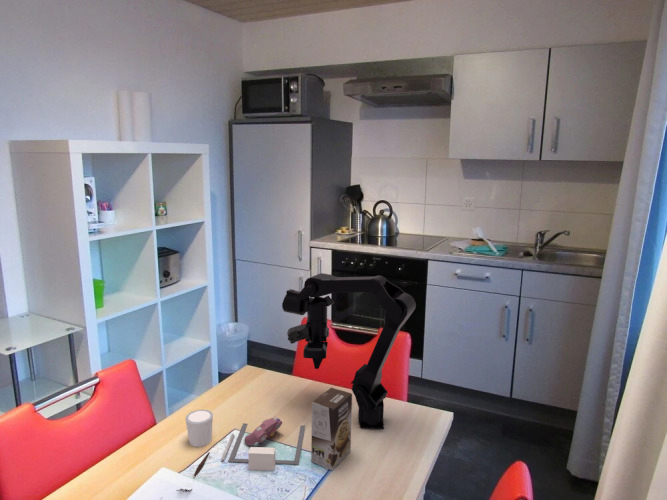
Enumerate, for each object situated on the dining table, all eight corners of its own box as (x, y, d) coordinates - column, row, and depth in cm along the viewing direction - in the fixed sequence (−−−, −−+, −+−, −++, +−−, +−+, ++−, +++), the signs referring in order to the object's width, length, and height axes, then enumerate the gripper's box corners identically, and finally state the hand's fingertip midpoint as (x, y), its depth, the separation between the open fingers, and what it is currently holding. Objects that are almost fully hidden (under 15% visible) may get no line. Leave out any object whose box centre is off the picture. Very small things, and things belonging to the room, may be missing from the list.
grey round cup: (205, 429, 129) (204, 406, 127) (219, 440, 124) (218, 416, 123) (181, 440, 124) (180, 415, 123) (195, 451, 119) (193, 426, 118)
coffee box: (332, 471, 113) (333, 409, 109) (310, 462, 116) (310, 401, 113) (351, 451, 120) (353, 393, 117) (330, 443, 124) (331, 386, 120)
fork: (214, 454, 119) (214, 447, 118) (187, 499, 103) (186, 491, 103) (204, 453, 119) (204, 446, 119) (175, 498, 104) (175, 490, 103)
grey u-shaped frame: (305, 426, 131) (305, 411, 130) (297, 471, 112) (297, 454, 112) (236, 424, 132) (236, 409, 131) (217, 468, 113) (217, 452, 112)
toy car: (253, 454, 121) (261, 436, 118) (241, 441, 123) (249, 424, 120) (279, 436, 129) (287, 419, 126) (267, 424, 131) (276, 407, 128)
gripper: (293, 306, 146) (293, 354, 149) (284, 328, 127) (285, 382, 130) (329, 307, 145) (328, 355, 148) (326, 329, 127) (325, 383, 130)
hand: (316, 368), depth 139 cm, fingers closed
